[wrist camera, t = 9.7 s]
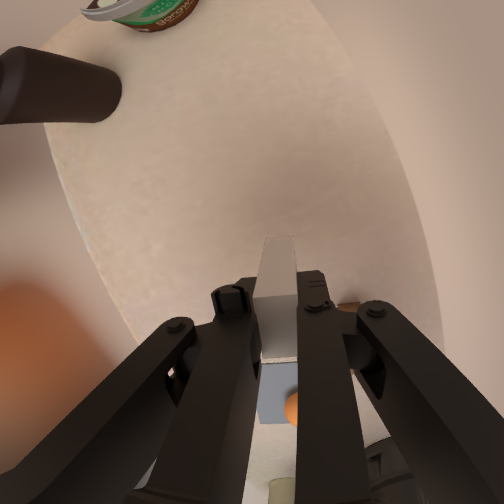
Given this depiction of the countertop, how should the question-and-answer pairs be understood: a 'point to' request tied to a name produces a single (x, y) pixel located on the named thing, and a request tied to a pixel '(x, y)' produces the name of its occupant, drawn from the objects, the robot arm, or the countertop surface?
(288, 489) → the can
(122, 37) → the countertop surface
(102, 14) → the food container
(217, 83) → the countertop surface
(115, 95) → the bottle
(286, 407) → the ball
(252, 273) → the countertop surface
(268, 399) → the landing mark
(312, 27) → the countertop surface
